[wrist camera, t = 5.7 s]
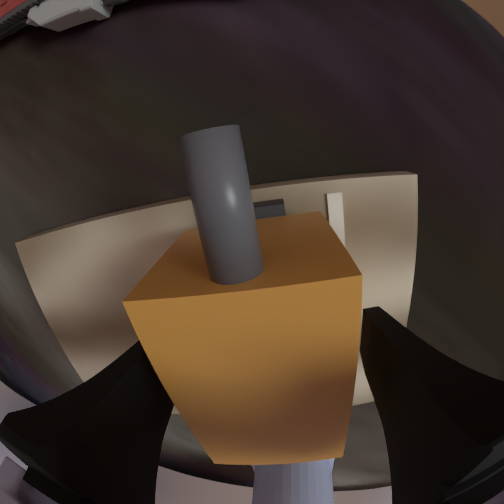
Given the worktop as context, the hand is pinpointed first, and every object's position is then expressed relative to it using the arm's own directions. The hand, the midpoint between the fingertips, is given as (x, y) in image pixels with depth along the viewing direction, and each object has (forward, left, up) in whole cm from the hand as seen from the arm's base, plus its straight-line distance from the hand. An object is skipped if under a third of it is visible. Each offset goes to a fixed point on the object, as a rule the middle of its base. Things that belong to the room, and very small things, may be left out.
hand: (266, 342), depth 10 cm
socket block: (+2, 0, -2) cm, 2 cm away
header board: (-2, +4, -4) cm, 6 cm away
